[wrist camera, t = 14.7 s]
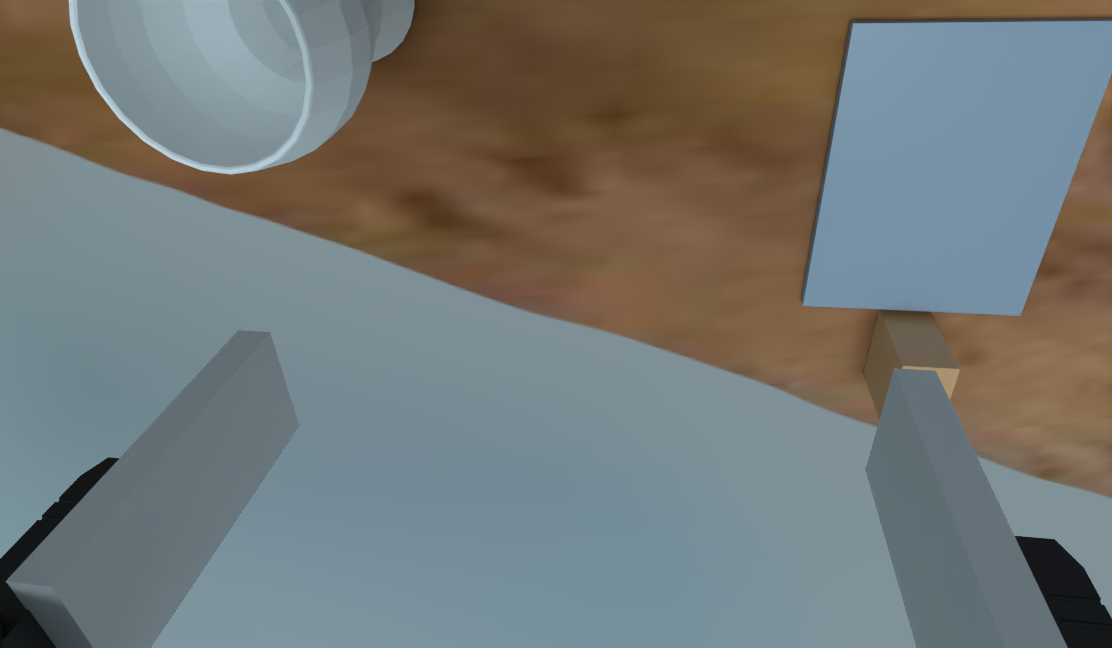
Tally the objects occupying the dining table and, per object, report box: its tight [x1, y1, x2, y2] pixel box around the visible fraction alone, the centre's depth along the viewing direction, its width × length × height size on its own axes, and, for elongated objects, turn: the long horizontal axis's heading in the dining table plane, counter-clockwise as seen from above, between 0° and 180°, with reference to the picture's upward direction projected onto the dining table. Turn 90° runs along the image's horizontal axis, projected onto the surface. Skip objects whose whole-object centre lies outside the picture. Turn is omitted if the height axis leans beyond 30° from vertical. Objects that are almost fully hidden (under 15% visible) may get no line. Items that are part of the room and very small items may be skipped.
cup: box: [69, 0, 415, 174], centre depth 33 cm, size 11×11×15 cm
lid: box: [801, 18, 1112, 420], centre depth 39 cm, size 22×13×6 cm, turn 2°
